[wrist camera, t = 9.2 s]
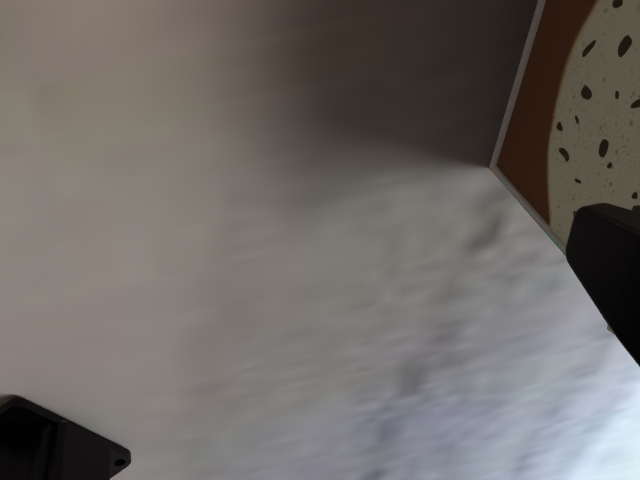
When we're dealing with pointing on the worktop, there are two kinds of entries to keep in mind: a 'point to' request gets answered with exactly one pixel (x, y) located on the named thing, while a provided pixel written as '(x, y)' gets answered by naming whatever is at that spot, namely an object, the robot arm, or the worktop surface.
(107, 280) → the worktop surface
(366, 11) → the worktop surface
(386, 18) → the worktop surface
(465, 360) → the worktop surface
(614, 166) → the food container
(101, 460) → the robot arm
